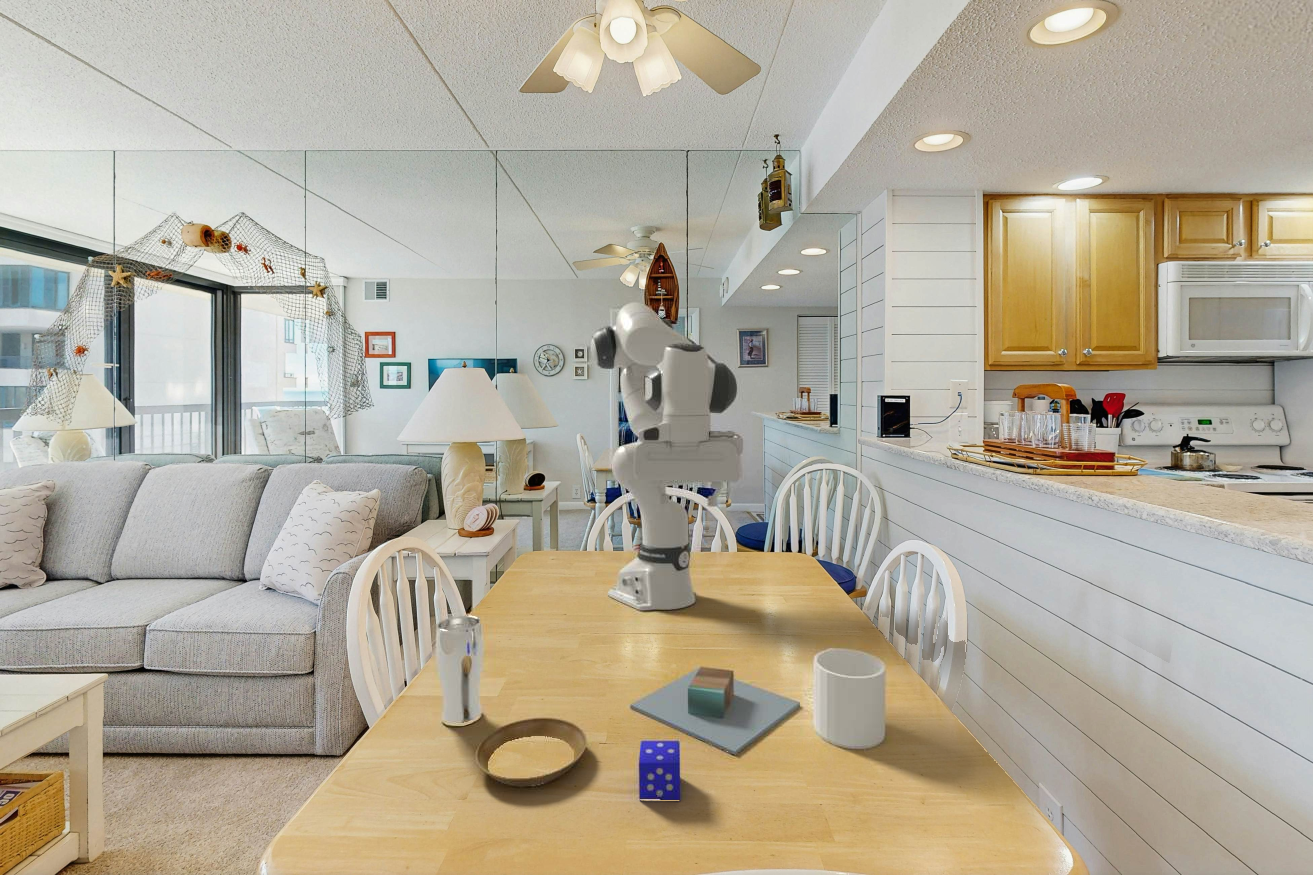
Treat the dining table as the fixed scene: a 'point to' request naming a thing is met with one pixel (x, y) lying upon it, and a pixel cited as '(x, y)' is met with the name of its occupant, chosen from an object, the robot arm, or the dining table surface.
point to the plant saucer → (528, 729)
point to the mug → (849, 698)
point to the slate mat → (733, 733)
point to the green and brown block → (711, 692)
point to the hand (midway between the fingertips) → (687, 505)
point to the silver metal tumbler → (460, 667)
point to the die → (659, 770)
